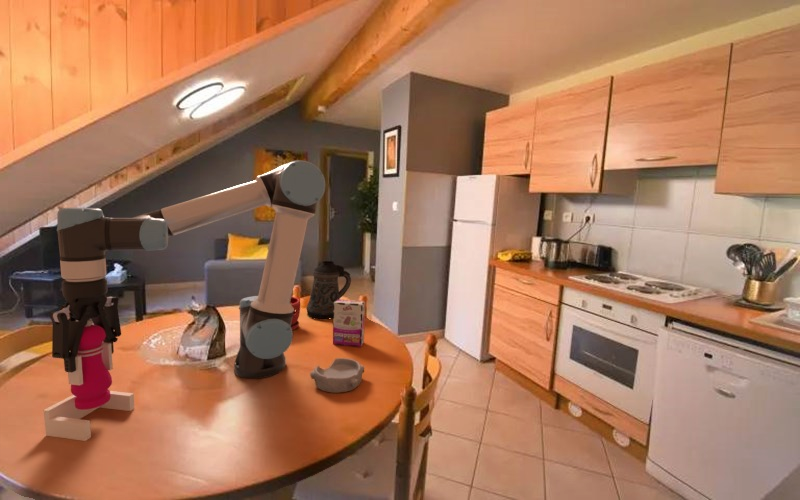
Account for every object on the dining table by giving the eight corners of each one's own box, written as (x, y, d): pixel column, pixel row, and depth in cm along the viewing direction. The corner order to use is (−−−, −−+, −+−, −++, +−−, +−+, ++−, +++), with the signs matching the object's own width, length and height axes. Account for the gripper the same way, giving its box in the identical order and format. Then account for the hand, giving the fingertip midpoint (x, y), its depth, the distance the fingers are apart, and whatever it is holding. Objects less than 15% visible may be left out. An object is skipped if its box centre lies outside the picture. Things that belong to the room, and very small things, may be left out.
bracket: (134, 408, 89) (133, 385, 88) (85, 441, 77) (83, 415, 76) (99, 404, 90) (98, 381, 89) (45, 435, 78) (43, 410, 77)
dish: (305, 388, 103) (305, 372, 102) (330, 368, 115) (330, 353, 115) (350, 400, 98) (350, 383, 97) (371, 377, 111) (371, 362, 110)
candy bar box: (364, 342, 138) (365, 300, 135) (361, 347, 133) (362, 304, 130) (336, 339, 139) (337, 298, 137) (332, 344, 134) (333, 302, 132)
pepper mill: (89, 413, 79) (83, 326, 76) (63, 408, 80) (56, 322, 77) (121, 396, 86) (116, 316, 83) (96, 392, 87) (90, 312, 84)
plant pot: (276, 321, 155) (276, 294, 154) (304, 324, 153) (305, 297, 152) (260, 332, 142) (260, 303, 141) (291, 335, 141) (291, 306, 139)
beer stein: (299, 313, 167) (299, 261, 164) (331, 305, 182) (333, 257, 179) (321, 322, 157) (322, 266, 153) (354, 313, 171) (355, 262, 168)
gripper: (109, 268, 89) (115, 356, 92) (18, 286, 70) (29, 396, 73) (137, 270, 88) (141, 359, 91) (52, 289, 69) (61, 401, 72)
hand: (91, 376), depth 82 cm, fingers closed on pepper mill, 6 cm apart
